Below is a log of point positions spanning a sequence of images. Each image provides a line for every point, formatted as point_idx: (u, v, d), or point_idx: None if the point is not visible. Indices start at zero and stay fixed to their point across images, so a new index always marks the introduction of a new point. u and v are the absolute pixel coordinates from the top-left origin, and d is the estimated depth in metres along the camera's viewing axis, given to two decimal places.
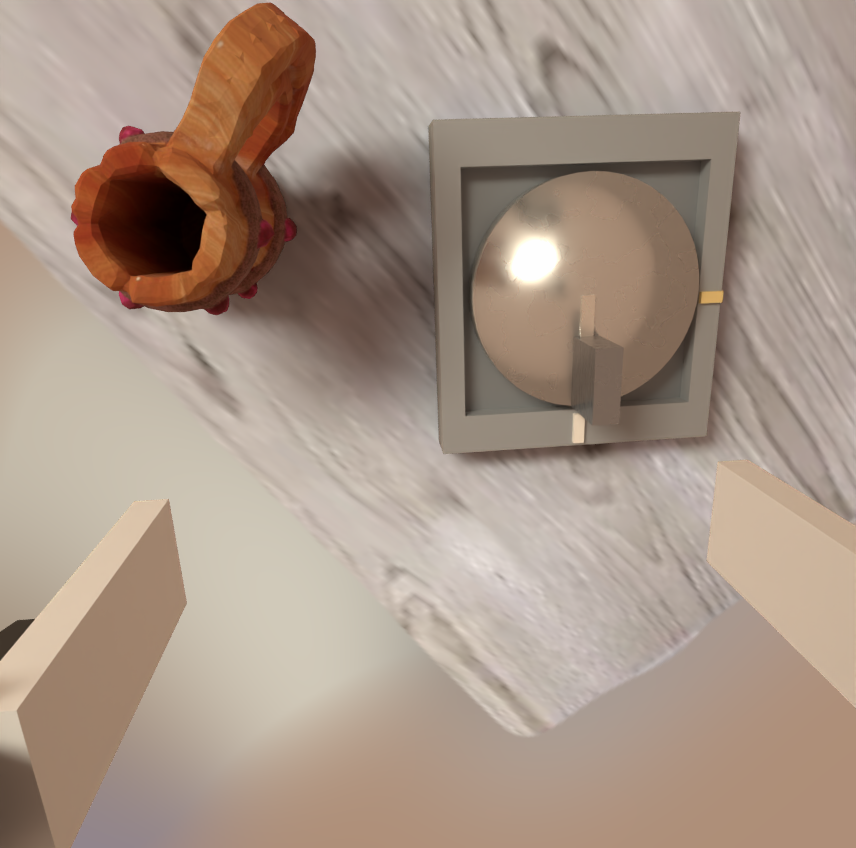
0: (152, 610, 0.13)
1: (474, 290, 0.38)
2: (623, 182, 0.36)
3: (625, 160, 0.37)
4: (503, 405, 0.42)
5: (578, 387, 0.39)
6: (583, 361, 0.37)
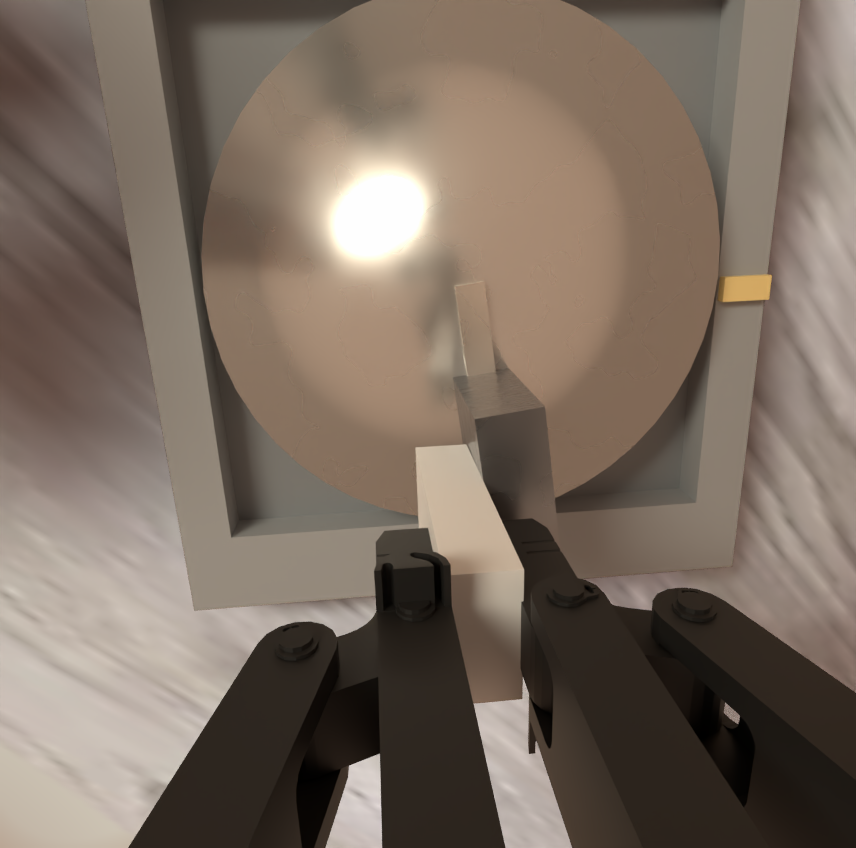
0: None
1: (207, 305, 0.17)
2: (508, 4, 0.15)
3: None
4: (321, 508, 0.21)
5: None
6: (468, 438, 0.16)
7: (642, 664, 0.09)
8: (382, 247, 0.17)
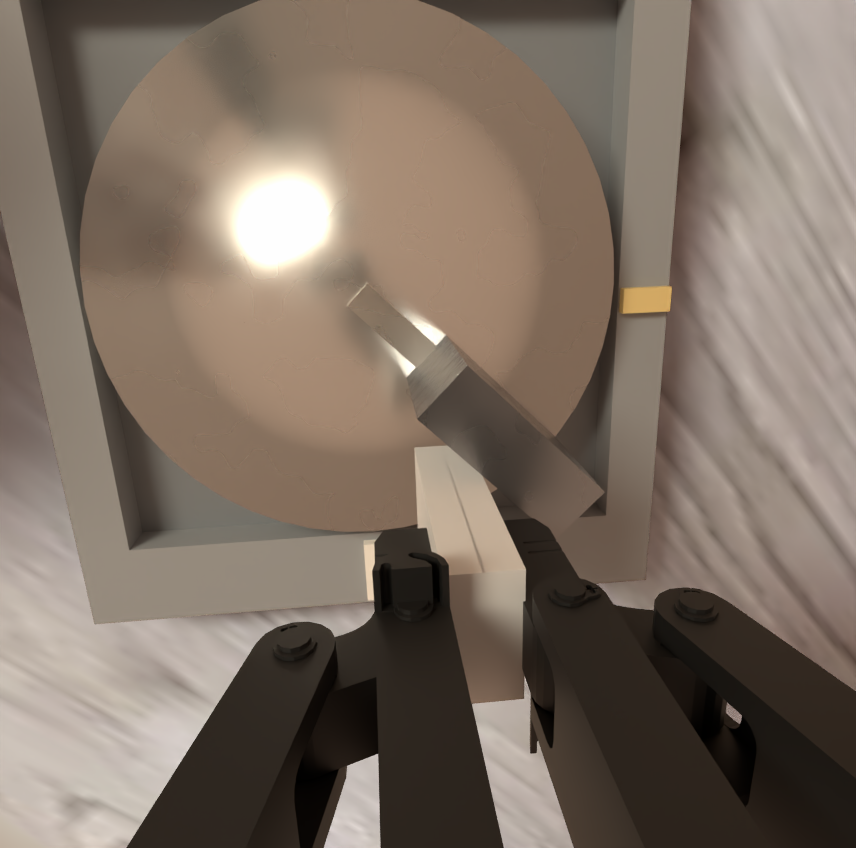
0: None
1: (179, 463, 0.18)
2: (205, 49, 0.15)
3: None
4: (227, 519, 0.21)
5: None
6: None
7: (644, 664, 0.09)
8: (267, 320, 0.17)
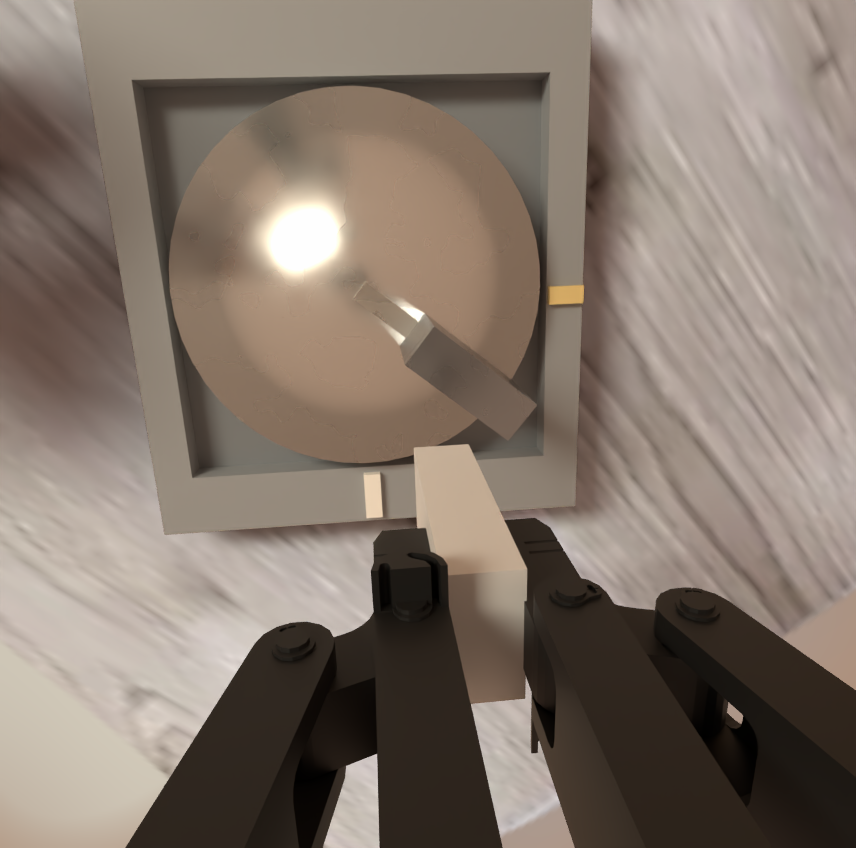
0: None
1: (245, 422, 0.25)
2: (243, 136, 0.22)
3: (408, 72, 0.23)
4: (262, 459, 0.28)
5: None
6: None
7: (645, 664, 0.09)
8: (299, 314, 0.24)
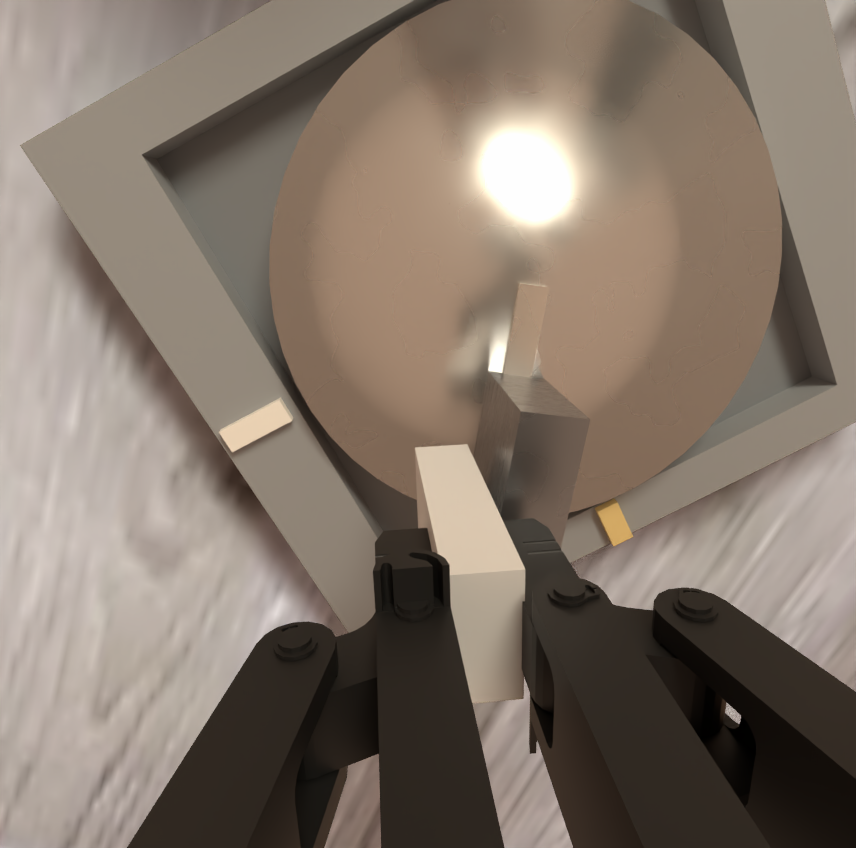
0: None
1: (274, 223, 0.16)
2: (655, 34, 0.15)
3: (793, 227, 0.18)
4: (219, 247, 0.18)
5: None
6: (495, 431, 0.16)
7: (643, 664, 0.09)
8: (463, 223, 0.16)
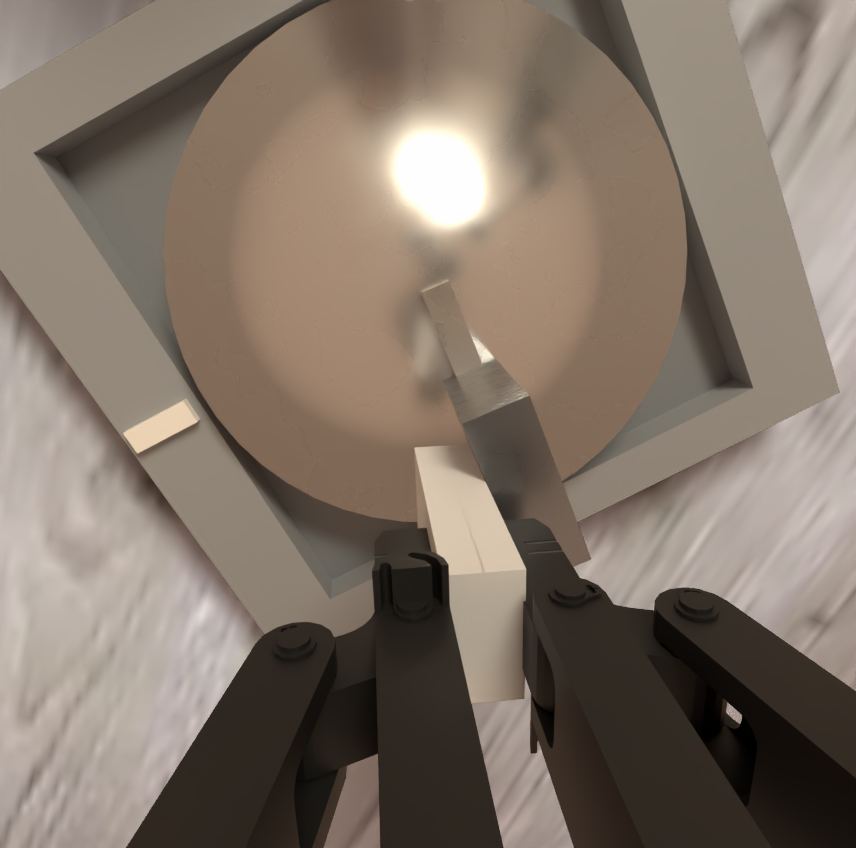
0: None
1: (190, 368, 0.17)
2: (404, 2, 0.15)
3: (702, 229, 0.18)
4: (123, 247, 0.18)
5: None
6: (467, 438, 0.16)
7: (644, 664, 0.09)
8: (341, 272, 0.17)
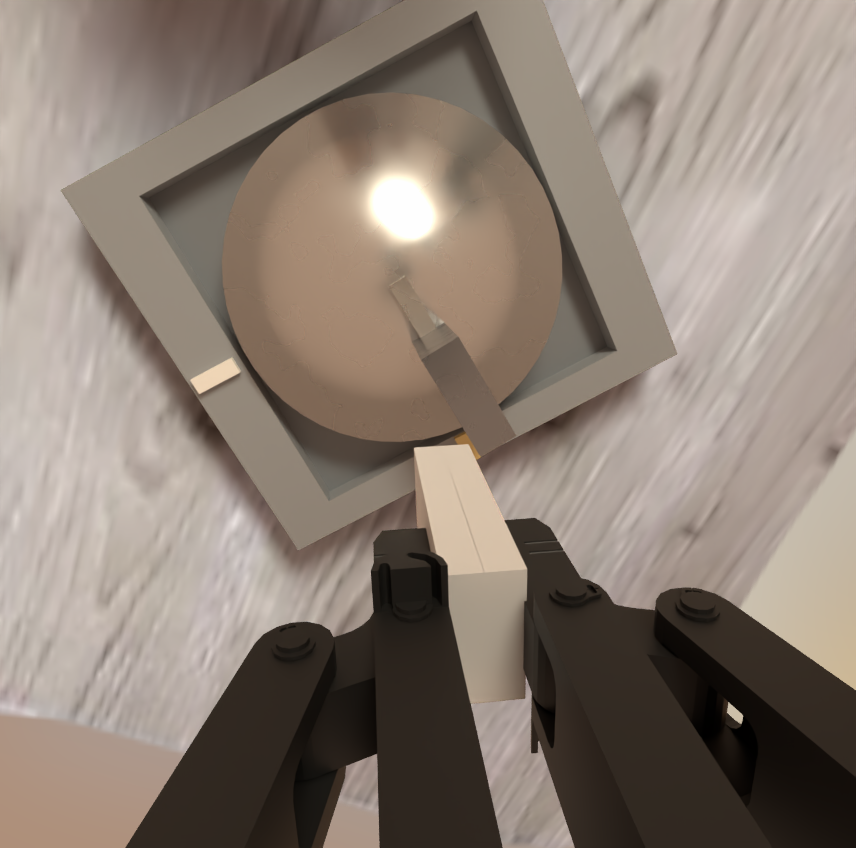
0: None
1: (248, 356, 0.26)
2: (351, 109, 0.24)
3: (574, 244, 0.27)
4: (190, 256, 0.27)
5: None
6: None
7: (645, 664, 0.09)
8: (336, 280, 0.26)
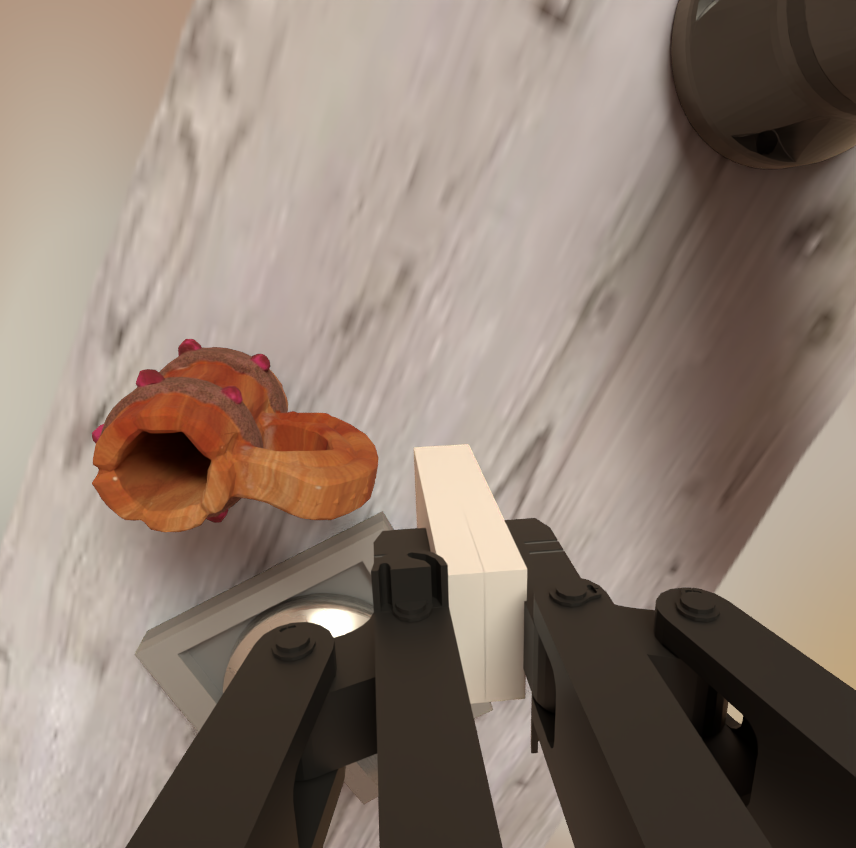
0: None
1: None
2: (292, 618, 0.44)
3: None
4: (205, 669, 0.47)
5: None
6: None
7: (645, 664, 0.09)
8: None
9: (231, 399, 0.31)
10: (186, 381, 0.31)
